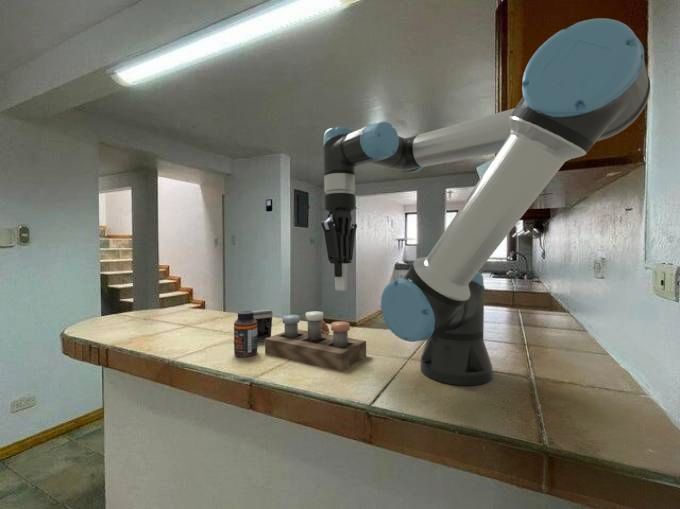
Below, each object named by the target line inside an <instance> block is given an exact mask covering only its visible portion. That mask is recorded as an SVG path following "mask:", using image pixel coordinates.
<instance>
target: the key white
mask: <svg viewBox="0 0 680 509" xmlns="http://www.w3.org/2000/svg"><path fill="white" fill-rule="evenodd" d="M322 319H323V320H324V312H323V311H315V310H314V311H307V312H305V321H307V331H308V339H311V340H318V339H321V338H322V331H321V320H322Z"/></svg>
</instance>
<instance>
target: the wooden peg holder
mask: <svg viewBox="0 0 680 509" xmlns="http://www.w3.org/2000/svg"><path fill="white" fill-rule="evenodd" d="M264 351H265V352H264V354H266V355H271V356H274V357H279V358H283V359H286V360H292V361H296V362H300V363H304V364H310V365H311V366H312V365H313V366H315V367H316V366H317V367H321V368H326V369H329V370H334V371H338V372H343V371H345V370H346V369H348V368H350V367H351V366H353V365H354V364H355V363H357V362H359V361H361V360H362V359H364V358H366V357H367V340H363V339H357V338H351V337H348V347H346V348H344V349H343V348H337V347H333V334H322V338H321V339H318V340H311V339H308V330H305V329H304V330H303V329H298V337H296V338H294V339H290V338H285V331H284V332H281V333H278V334H275V335H271V337H268V338H265V340H264Z"/></svg>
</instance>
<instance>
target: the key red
mask: <svg viewBox="0 0 680 509" xmlns="http://www.w3.org/2000/svg"><path fill="white" fill-rule="evenodd" d="M350 326H351V325H350V322H348V321H333V322H331V323H330V330H331V331H332V332H333V333H332V335H333V347H337V348H343V349H344V348H346V347H348V338H349V337H348V334H349V331H350V330H351V329H350V328H351V327H350Z"/></svg>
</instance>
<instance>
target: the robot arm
mask: <svg viewBox="0 0 680 509" xmlns="http://www.w3.org/2000/svg"><path fill="white" fill-rule="evenodd" d="M645 62H646V61H645V49H644V46H643V43H642V42H641V41H640V39H639V38H638V37H637V36H636V34H635V32H634V31H633V30H632V29H631V27H629V26H628V25H627V24H625V23H623V22H621V21H619V20H617V19H611V18H603V17H602V18H601V17H599V18H591V19H590V18H589V19H585V20H582V21H578V22H575V23H574V24H573V25H570V26H569V27H566V28H563V29H561V30H559V31H558V32H555V34H553V35H551V36H550V37H549V38H548V39H547V40H546V41H544V42H543V44H541V45H540V46H539V47H538V48H537V49H536V51H535V52H534V53H533V55H532V56H531V58H530V59H529V61H528V63H527V65H526V67H525V69H524V72H523V76H522V83H521V84H522V86H521V89H522V90H521V91H522V97H521V98H520V100H519V102H518V103H517V105H516V106H515V107H514V108H511V109H506V110H504V111H499V112H496V113H493V114H489V115H486V116H481V117H478V118H473V119H470V120H467V121H463V122H460V123H456V124H452V125H450V126H449V125H448V126H446V127H443V128H442V127H441V128H439V129H438V128H437V129H435V130H431V131H428V132H423V133H420V134H417V135H412V136H409V137H403V136H399V134H398V132H397V130H396V127H395V128H394V127H393V125H392V123H390V122H387V121H379V122H375V123H371V124H370V123H369V125H367V126H364V127H362V128H360V129H357V130H355V131H353V130H352V128H349V127H347V126H346V127H345V126H336V127H331V128H328V129H326V130H325V132H324V135H323V144H322V145H323V146H322V150H323V176H324V178H323V179H324V181H323V182H324V193H325V195H324V209H325V211H327V212H328V213H327V219H326V220H323V221H321V227H322V229H323V233H324V240H325V246H326V252H327V258H328V259H327V260H328V261H329V263H330V264H331V265H334V268H333V269H334V290H335V291H343V292H345V291H348V264H351V263H352V260H353V257H354V256H353V255H354V246H355V237H356V230H357V227H358V225H357V223H353V220H352V219H353V218H352V214H351V212H352V211H354V210H355V209H356V196H355V194H354V193H355V192H356V182H355V181H356V179H355V176H356V175H355V174H356V173H355V171H356V170H355V167H358V166H362V165H365V164H373V165H377V166H380V167H381V166H382V167H384V168H390V169H393V170H396V171H400V172H402V173H411V174H414V173H418V172H420V171H421V170H422V169H423V168H424V167H430V166H436V165H440V164H446V163H447V164H448V163H451V162H457V161H463V160H467V159H474V158H479V157H483V156H489V155H495V154H496V155H495V156H494V158H493V159H492V161H491V162H490V163H489V166H488V167H487V168H486V170H485V171H484V173H483V174H482V176H481V177H480V178H479V180H478V182H477V183H475V184H476V185H475V186H474V187H473V189H472V190H471V192H470V193H469V195H468V196H467V198H466V199H465V201H464V202H463V203H462V205H461V207H460V208H459V209H458V211H457V213H456V214H455V215H454V216H453V218H452V219H451V221H450V223H449V225H448V226H447V227H446V229H445V230H444V232H443V233H442V234H441V236H440V237H439V239H438V240H437V242H436V243H435V245H434V247H433V248H432V249H431V251H430V252H429V254H428V255H427V256H425V257H419V258H418V257H417V258H416V259H415V260H414V262H413V263H412V264H411V266H410V267H409V269H408V270H407V272H406V273H405V275H404V276H403V277H402V278H396V279H394V280H393V281H391V282H389V283H388V284H387V285H386V286H385V287H384V289H383V291H382V294H381V297H380V310H382V315H381V316H382V318H383V320H384V323H385V325H386V326H387V328H388V329H389V331H390V332H392V334H393V335H395V336H396V337H397V338H399V339H400V340H403V341H406V342H413V343H414V342H421V341H426V342H425V345H424V347H423V351H422V354H421V357H420V371H421V372H422V374H423V375H425V376H426V377H427V378H430V379H432V380H435V381H437V382H441V383H445V384H450V385H455V386H456V385H457V386H478V385H482V384H486V383H489V382H490V381H492V379H493V365H492V362H491V359H490V356H489V353H488V350H487V346H486V344H485V341H484V340H485V339H484V329H485V328H484V327H485V326H484V325H485V324H484V322H485V321H484V320H485V319H484V317H485V316H484V315H485V314H484V313H485V310H484V309H485V289H486V286H485V282H484V276H483V274H482V273H481V272H480V270H481V269H482V268H483V267H484V265H485V264H486V263H487V261H488V260H489V258H491V257H492V255H493V254H494V253H495V251H496V250H497V248H499V246H500V245H501V244H502V243H503V241H504V240H505V238H506V237H507V236H508V235H509V234H510V232H511V230H512V229H513V228H514V227H515V226H516V225H517V223H518V222H519V221H520V219H522V218H523V216H524V214H525V213H526V212H527V210H529V208H530V207H531V206H532V204H533V203H534V202H535V201H536V200H537V198H538V197H539V196H540V195H541V193H542V192H543V190H544V189H545V188H546V187H547V185H548V184H549V183H550V181H551V180H552V179H553V178H554V177H555V175H556V174H557V173H558V171H559V170H560V169H561V168H562V166H563V165H564V164H565V162H567V161H570V160H571V159H573V160H574V159H576V158H580V157H583V156H585V155H587V154H588V152H589V151H590V150H591V148H592V147H594V145H595V143H596V142H599V141H603V140H606V139H608V138H609V139H610V138H612V137H613V136H615V135H617V134H620V132H621V133H622V131H624V130H626V129H627V128H628V127H629V126H631V125H632V124H633V123H634V122H635V121H636V120H637V119H638V118H639V117H640V114H642V112H643V111H644V109H645V107H646V105H647V103H648V101H649V98H650V94H651V80H650V77H649V73H648V72H647V66H646V63H645Z"/></svg>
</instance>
